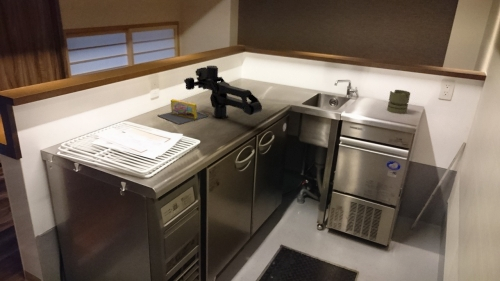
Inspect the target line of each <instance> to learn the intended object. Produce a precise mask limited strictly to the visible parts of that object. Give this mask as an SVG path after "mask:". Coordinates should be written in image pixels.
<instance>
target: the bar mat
mask: <svg viewBox="0 0 500 281" xmlns="http://www.w3.org/2000/svg"><path fill="white" fill-rule="evenodd" d="M156 115H157V117H159V118H161V119H164V120H166V121H168V122H171V123H173V124H175V125H178V126H179V125H182V124H183V125H184V124H186V123H191V122H195V121H198V120H201V119H202V120H203V119H205V118H209V115H208V114H205V113H202V112H200V111H197V118H196V119H193V118H188V117H184V116H179V115H175V114H172V111H171V112H165V113H161V114H156Z"/></svg>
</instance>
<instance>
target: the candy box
mask: <svg viewBox="0 0 500 281" xmlns="http://www.w3.org/2000/svg"><path fill="white" fill-rule="evenodd" d="M170 109H171V112H172V114H175V115H179V116H184V117H188V118H193V119H196V118H197V112H198V110H197V109H198V108H197V103H193V102H189V101H183V100H179V99H174V98H172V99H170Z"/></svg>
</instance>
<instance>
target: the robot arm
mask: <svg viewBox="0 0 500 281" xmlns="http://www.w3.org/2000/svg"><path fill="white" fill-rule="evenodd" d="M195 75H196V80H197V81H195V78H194V77H191V76H190V77H186V78H185V79H183V82H184V83H185V89H186V90H189V91H190V90H191V91H192V90H194V89H195V87H197V88H198V89H202V90H208V91H211V93H210V94H211V95H210V99H209V100H210V103H211V107H212V108H213V109H214V110H213V114H214V115H212V117H213V118H215V119H219V120H222V119H226V118H228V117H229V115H227V107H228V106H230V107H233V108H236V109H239V110H242V111H243V113H244V114H246V115H249V116H252V115H256V114H259V113H262V110H263V105H262V102H260V101H259V99H258V98H257V96H255V95H254V94H253V93H252V91H251V90H249V89H245V88H240V87H237V86H234V85H231V84H230V83H228V82H227V81H225V80H224V79H223V77H222V76H219V67H218V66H217V65H206V67H205V66H204V67H199V68H196V70H195ZM229 95H231V96H229ZM232 96H235V97H232ZM236 97H238V98H236ZM239 98H240V99H239ZM248 100H249V101H248Z"/></svg>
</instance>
